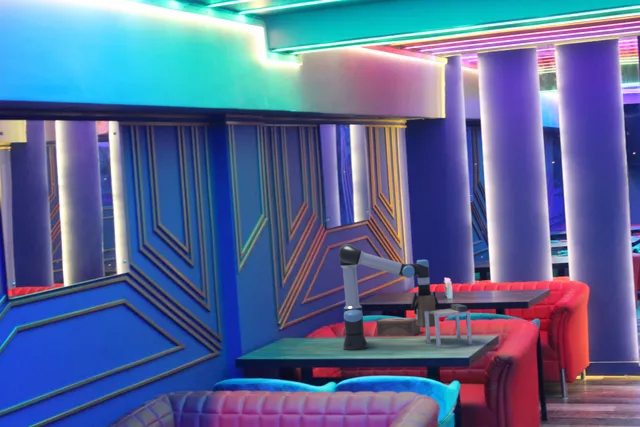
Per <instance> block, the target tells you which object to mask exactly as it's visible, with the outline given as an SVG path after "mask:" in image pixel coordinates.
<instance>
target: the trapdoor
mask: <svg viewBox="0 0 640 427" xmlns="http://www.w3.org/2000/svg"><path fill="white" fill-rule="evenodd" d="M446 309H447V310H442V309H436V310H437V311H429V313H431V314H434V315H435V314H446V313H456V312H466V311H468V306H467V305H465V304H461V303H453V304H450V308H446Z"/></svg>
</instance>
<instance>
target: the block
mask: <svg viewBox="0 0 640 427" xmlns="http://www.w3.org/2000/svg"><path fill="white" fill-rule="evenodd" d="M435 296H436V295H435ZM435 296H434V295H432V294H430V295H424V296H419V295H417V298H416V301H415V304H416V303H417V302H418V307H417V309H418V320H417V319H416V326H418V327H421V328H425V313H424V311H432V310H435V305H436V304H435ZM430 327H431V328H432V327H434V328H435V316H434V314H431V313H430V314H429V328H430ZM425 329H426V328H425Z"/></svg>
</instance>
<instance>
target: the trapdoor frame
mask: <svg viewBox="0 0 640 427" xmlns="http://www.w3.org/2000/svg"><path fill="white" fill-rule="evenodd" d="M447 309H448V308H445V309H441V310H447ZM437 310H438V309H436V310H432V311H437ZM424 313H425V340H426V344H431V331H430V330H431V329H430V327H429V314H430V313H429V311H424ZM462 315H463V316H465V320H466V335H467V337H466V338H467V345H469V344H470V345H473V339H472V338H473V337H472V335H473V334H472V323H471V322H472V320H471V311H468V310H467V311H464V312H456V313H446V314H435V315H434V316H435V326H434V330H435V343H436V348H438V349H439V348H442V345H441V332H440V331H441V330H440V318H442V317H443V318H444V317H453V316H454V318H455V319H454V320H455V333H456V340H457V341H461V340H462V339H461V338H462V336H461V322H460V316H462Z"/></svg>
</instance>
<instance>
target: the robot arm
mask: <svg viewBox="0 0 640 427" xmlns="http://www.w3.org/2000/svg"><path fill="white" fill-rule="evenodd" d="M338 257H339V258H338V259H339V266H340V267H341V269H342V275H343V277H342V278H343V288H344V299H345V306H344V307H343V322H344V334H345V337H344V341H343V346H342V347H343V350H346V351H357V350H364V349H367V348H368V342H367V339H366V337H365V333H364V332H365V331H364V316H363V314H364V313H363V306H362V305H361V304H360V298H359V297H360V296H359V288H358V287H359V285H358V275H357V267H358V266H359V265H362V266H365V267H369V268H373V269H377V270H380V271H384V272H387V273H391V274H395V275H398V276H400V277H404V278H406V279H410V278H412V277H414V276H417V284H418V285H417V290H418V292H413V298H412V302H411V305H410V308H411V309H413V314H414V315H415V318H416V319H417V320H418V309H417V307H418V302H417V303H416V304H415V301H416V298H417V295H419V296H424V295H434V296H435V310H437V308H439V307H440V303H439V300H438V299H437V296H436V292H435V291H431V284H430V283H431V282H430V266H429V265H430V263H429V260H428V259H417V260H416V262H415V263H402V262H398V261H395V260H391V259H388V258H385V257H380V256H378V255H374V254H370V253H367V252H364V251H363V250H361V249H360V248H357V247H356V246H355V245H354V244H351V243H345V244H343V245H341V246H340V248H339V249H338Z"/></svg>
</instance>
